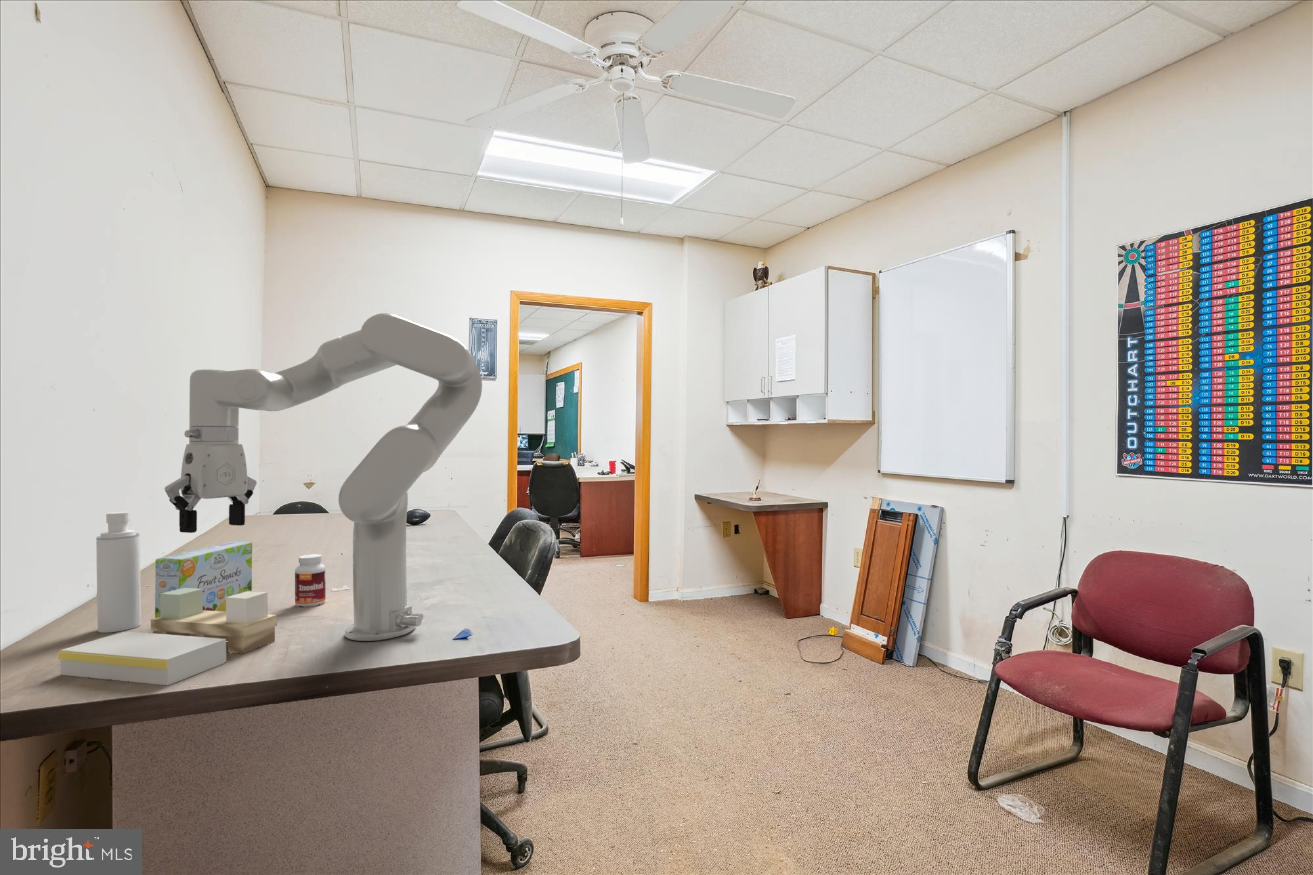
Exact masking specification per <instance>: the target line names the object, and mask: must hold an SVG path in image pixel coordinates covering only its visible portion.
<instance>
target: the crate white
mask: <svg viewBox="0 0 1313 875" xmlns="http://www.w3.org/2000/svg"><path fill="white" fill-rule="evenodd" d="M268 605H269V604H268V592H267V591H252V592H251V591H247V592H243V593H240V594H236V595H233V596H229V597H226V622H228V623H242V624H248V623H251V622H254V621H256V620H259V619H262V618H265V617H268V614H269V611H268V610H269V607H268Z"/></svg>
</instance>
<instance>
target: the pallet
mask: <svg viewBox="0 0 1313 875" xmlns="http://www.w3.org/2000/svg"><path fill="white" fill-rule="evenodd" d="M277 616H278V615H277V614H269V613H268V617H265V618H262V619H259V620H256V621H254V622H251V623H248V624H242V623H228V622H226V612H222V611H206V610H203V613H199V614H196V615H193V616H189V617H186V618H182V619H169V618H161V617H158V618H155V617H154V618H152V619H150V631H152V633H154V634H167V635H180V636H194V637H207V638H220V639H226V641H228V642H227V647H228V648H227V651H228V652H233V653H240V654H239V655H244V654H246V653H245V652H247V653H249V652H251V651H250V650H252V651H254V650H253V649H255V648H257V649H259V648H258V647H260V646H262V647H265V646H267V645H269V644H268V643H270V644H273V643H275V642H276V630H275V628H276V627H277V626H278V624H277V623H278V619H277V618H278V617H277ZM274 641H275V642H274ZM272 642H273V643H272ZM266 644H267V645H266ZM264 645H265V646H264ZM260 648H261V647H260ZM255 650H256V649H255ZM248 651H249V652H248ZM228 652H227V653H228ZM243 653H244V654H243Z"/></svg>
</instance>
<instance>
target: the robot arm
mask: <svg viewBox="0 0 1313 875" xmlns="http://www.w3.org/2000/svg"><path fill="white" fill-rule="evenodd" d="M472 354H473V353H471V352H470V350H469V349H468V348H467V347H466V345H464V344H463V342H461V341H460V340H458V339H457V338H455V337H453V336H451V335H448V334H447V333H446V334H445V333H443V332H440V331H437V330H435V329H432V328H429V327H428V326H424V325H421V324H419V323H416V322H413V321H411V320H409V319H406V318H404V317H401V316H399V315H397V314H394V313H393V314H392V313H388V312H384V313H383V312H381V313H376V314H375V315H374V314H373V315H371V316H370V317H369V318H367V319H366V320H365V321H364V323H363V324H362V325H361V329H360V330H356V331H354V332H351V333H348V334H345V335H342V336H339V337H337V338H333V339H330V340H328V341H325V342H323V343H322V344H321V345H320V346H319V347H318V349H317V351H316V353H315V354H314V355H313V356H312V357H310V358H309V359H307V360H305V361H303V362H302V363H299V364H296V365H293V366H291V367H288V368H286V369H282V370H280V371H277V372H270V371H267V370H266V371H265V370H262V369H261V370H260V369H256V368H247V369H236V370H222V369H196V370H194V371H193V372H191V374H190V377H189V413H188V414H189V419H188V420H189V422H188V424H189V425H188V426H189V427H188V428H189V429H186V430H185V431H184V437H185V438H188V443H187V444H186V446H185V449H184V451H183V452H184V453H183V456H182V464H181V471H180V472H181V473H180V477H179V478H178V479H176V480H175V481H173V482H171V483H170V484H168V485H165V487H164V492H165V493H166V495H167V497H168V498H169V502H170V503H171V504H172V505H173V506H174V507H175V509H176V511H179V512H178V516H179V518H178V521H179V524H178V526H179V532H180V533H185V534H186V533H188V534H193V533H194V534H195V533H197V531H198V512H197V509H194V508H196V507H197V505H198V503H199V502H200V501H201V499H206V500H207V499H209V500H210V499H220V498H228V500H230V502H231V504H229V506H228V524H229V525H230V526H244V525H245V524H246V505H248V504H249V500H250V498H251V497H252V496H253V494H254V490H255V487H256V485H257V482H258V481H257V480H256V479H253V478H252V477H250V476H248V470H247V469H248V468H247V460H246V454H245V450H244V447H243V446H244V445H243V444H241V443H239V436H240V435H239V433H240V432H239V430H240V429H239V415H240V413H239V412H240V411H239V410H240V409H244V410H246V409H247V410H252V411H254V410H255V411H263V412H264V411H266V412H279V411H284V410H287V409H290V408H293V407H296V406H298V405H301V404H304V403H306V402H310V401H312V400H315V399H317V398H319V397H321V396H322V397H323V396H324V395H326V394H328V393H331V392H332V391H334V390H336V389H339V388H340V387H342V386H344V385H345V384H348V383H351V382H353V381H356V380H359V379H362V378H364V377H367V376H371V375H372V374H377V373H379V372H381V371H384V370H387V369H389V368H392V367H394V366H400V367H402V368H405V369H407V370H410V371H413V372H415V373H419V374H421V375H424V376H426V377H428V378H432V379H434V380H436V381H437V382H438V386H437V388H436V390H435V391H434V393H433V394H432V395H431V396H430V397H429V398H428V400H426V401H425V402H424V404H423V405H422V406H421V408H420V409H419V410H418V411H417V413H416V414H415V415H414V416H413V417H412V418H411V420H410V421H409V422H408V423H407V424H405V425H399V426H396V427H394V428H392V429H390V430H389V431H387V432H386V433H385V434H384V435H383V436H382V437H381V438H380V439H379V440H378V441H377V442H376V444H375V445H374V446H373V447H372V448H371V450H370V451H368V453H367V454H366V455H365V457H364V458H363V459H362V460H361V461H360V463H359V464H358V465H357V466H356V467H355V468H354V470H352V472H351V473H350V474H349V475H348V477H347V478H346V479H345V481H344V482H343V484H342V485H341V487H340V489H339V492H338V506H339V509H340V511H341V513H342V514H343V515H344V516H345V518H347V519H348V520H350V521H352V522H353V530H352V532H353V533H352V580H353V581H352V583H353V584H352V588H353V590H352V592H353V594H352V595H353V623H352V624H350V625H349V626H347V627H346V628H345V630H344V636H345V638H347V639H349V640H352V641H358V642H373V641H375V642H376V641H381V640H382V641H384V640H389V639H393V638H394V639H395V638H398V637H401V636H405V635H407V634H409V633H411V632H413V631H414V629H416V627H420V626H421V625H422V622H423V619H424V614H423V613H421V612H420V613H417V612H416V613H413V605H408V599H407V598H408V595H407V594H408V590H407V589H408V588H407V586H408V585H407V584H408V583H407V579H408V578H407V518H408V516H407V514H408V506H409V504H408V502H409V497H408V495H409V493H408V491H409V490H410V488H411V487H412V486H413V485H414V484H415V482H416V481H417V480H418V479H419V478H420V476H421V475H422V474H423V473H426V472H427V471H429V470H430V469H431V468H432V467H433V466H434V465H436V463H437V461H438V460H439V458H440V457H441V455H442V454H443V452H444V451H445V450H446V449H447V448H448V447H449V446H450V444H451V443H452V442H453V440H454V439H455V438H456V436H457V435H458V433H459V432H460V431H461V430H462V428H463V427H464V426H466V423H467V422H468V421H469V420H470V419H471V417H472V415H473V414H474V412H475V411H476V409H477V407H478V405H479V403H480V400H481V398H482V397H481V396H482V392H483V382H482V380H483V379H482V376H481V372H480V370H479V367H478V364H477V361H476V360H475V358H474V356H473V355H472ZM181 495H182V496H181Z"/></svg>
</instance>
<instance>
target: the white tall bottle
mask: <svg viewBox="0 0 1313 875" xmlns="http://www.w3.org/2000/svg"><path fill="white" fill-rule="evenodd" d="M105 516H106V521H105V522H106V524H107V531H105V532H101V533H100V535H99V536H96V541H95V542H96V544H95V545H96V595H97V596H96V598H97V599H96V602H97V604H96V605H97V612H96V613H97V632H99V633H102V634H107V633H109V634H110V633H120V632H125V631H129V630H132V629H135V628H139V625H140V626H141V625H142V607H141V606H142V605H141V604H142V600H141V599H142V598H141V597H142V596H141V591H142V590H141V543H140V540H141V539H140V538H141V537H140V533H139V532H136V530H134V529H129V522H130V511H114V512H107V513H106V514H105Z"/></svg>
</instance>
